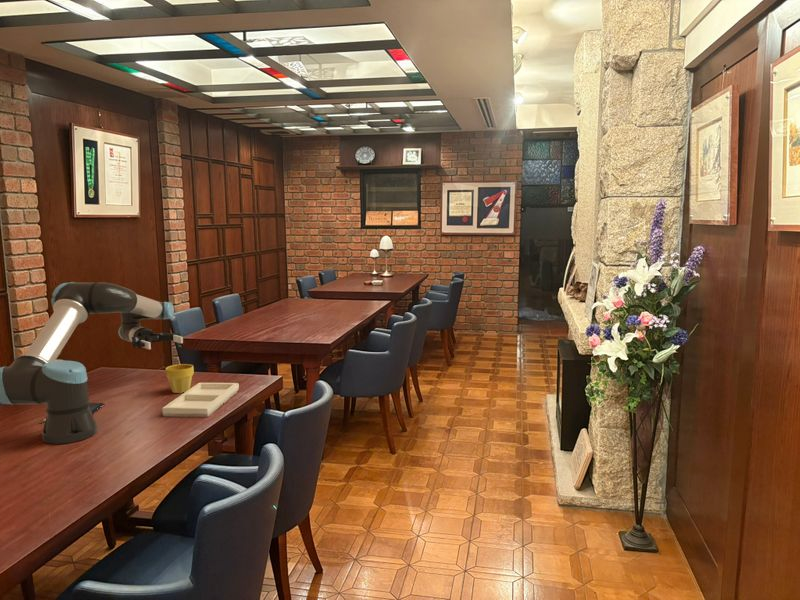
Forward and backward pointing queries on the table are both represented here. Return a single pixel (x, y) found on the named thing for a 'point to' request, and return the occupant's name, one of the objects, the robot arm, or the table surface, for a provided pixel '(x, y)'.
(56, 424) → the robot arm
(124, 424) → the table surface
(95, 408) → the wallet
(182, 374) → the plant pot
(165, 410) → the divided tray
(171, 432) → the table surface
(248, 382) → the table surface
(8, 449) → the table surface
